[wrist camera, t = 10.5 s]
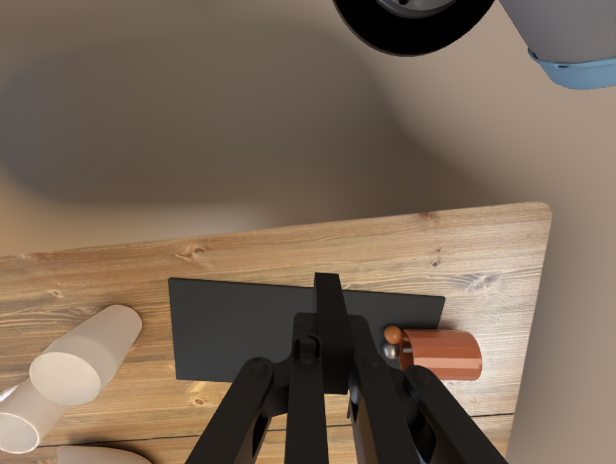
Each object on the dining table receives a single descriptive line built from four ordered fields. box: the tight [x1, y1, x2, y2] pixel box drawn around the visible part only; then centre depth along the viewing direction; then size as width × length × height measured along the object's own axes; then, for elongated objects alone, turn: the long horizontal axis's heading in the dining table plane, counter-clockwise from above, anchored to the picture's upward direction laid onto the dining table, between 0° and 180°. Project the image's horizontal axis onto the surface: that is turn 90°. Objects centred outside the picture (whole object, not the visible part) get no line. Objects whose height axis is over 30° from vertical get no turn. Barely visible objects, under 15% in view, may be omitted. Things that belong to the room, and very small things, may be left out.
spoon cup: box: [398, 329, 482, 381], centre depth 45 cm, size 7×7×10 cm
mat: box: [168, 278, 446, 389], centre depth 49 cm, size 44×20×1 cm, turn 85°
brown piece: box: [384, 326, 410, 344], centre depth 47 cm, size 3×3×12 cm
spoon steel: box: [383, 342, 413, 359], centre depth 47 cm, size 3×3×12 cm
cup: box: [29, 305, 142, 406], centre depth 42 cm, size 9×9×12 cm
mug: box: [0, 377, 71, 453], centre depth 46 cm, size 12×8×10 cm
